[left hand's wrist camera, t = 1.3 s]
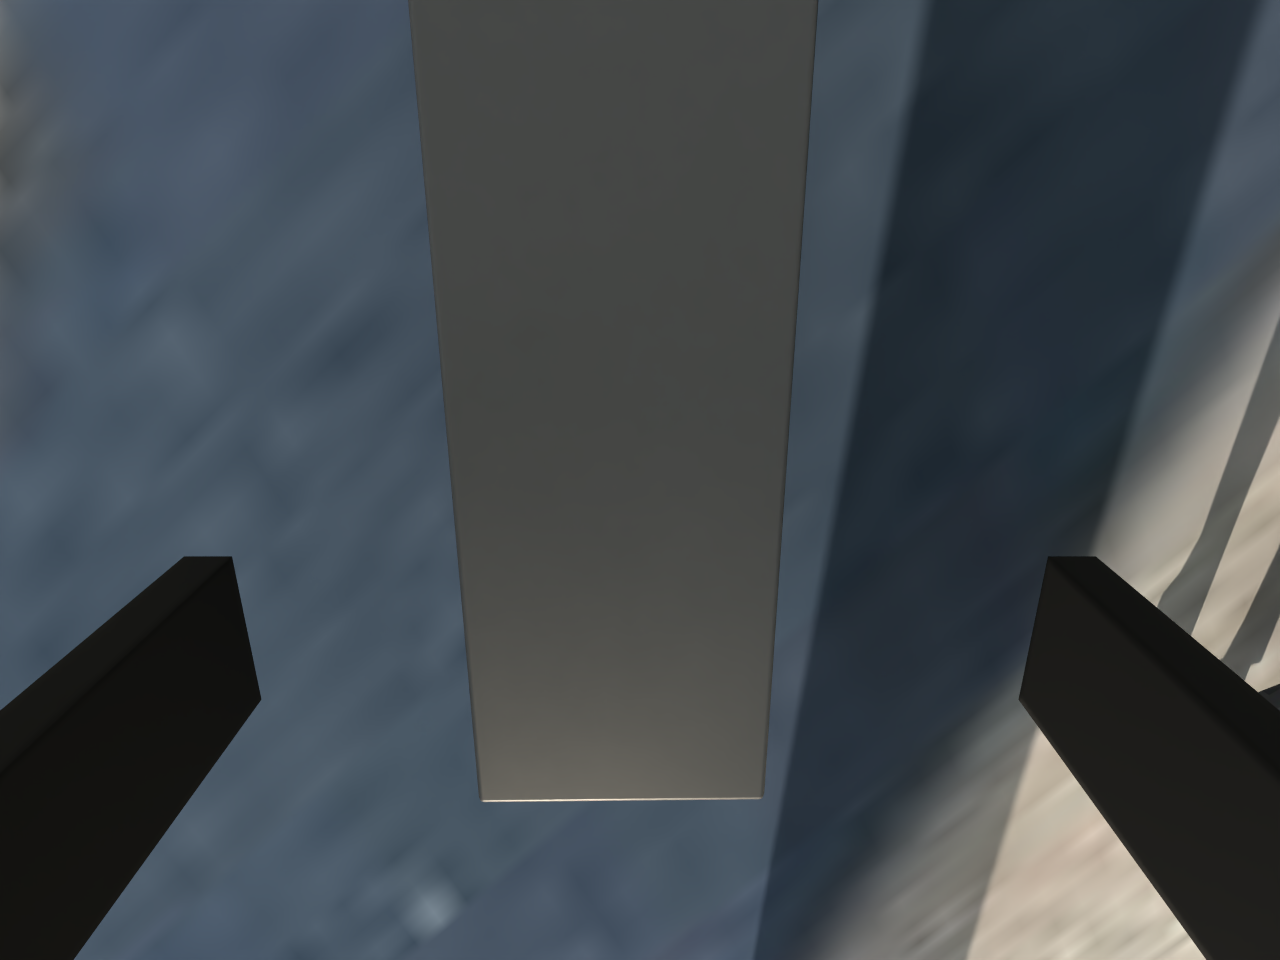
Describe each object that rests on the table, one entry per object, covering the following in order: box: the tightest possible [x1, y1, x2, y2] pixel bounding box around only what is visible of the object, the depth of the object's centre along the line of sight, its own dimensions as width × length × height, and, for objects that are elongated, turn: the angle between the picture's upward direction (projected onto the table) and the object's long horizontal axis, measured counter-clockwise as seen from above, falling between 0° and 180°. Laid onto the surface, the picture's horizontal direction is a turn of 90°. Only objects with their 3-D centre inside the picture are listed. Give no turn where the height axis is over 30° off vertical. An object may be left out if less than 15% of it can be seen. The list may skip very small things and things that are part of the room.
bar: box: [408, 0, 818, 802], centre depth 15 cm, size 23×5×9 cm, turn 0°
